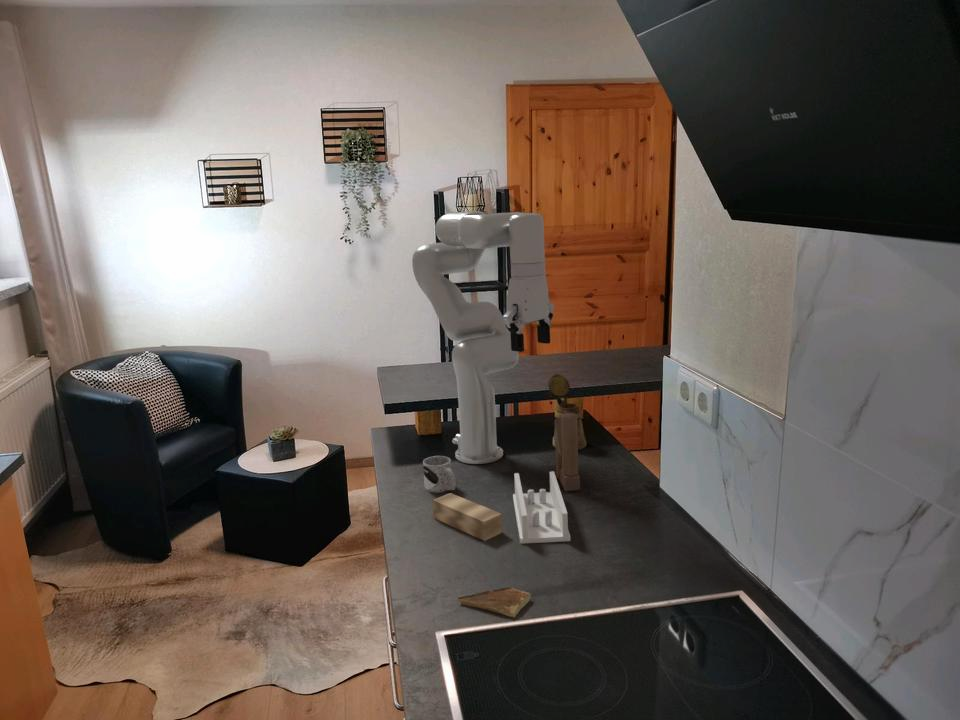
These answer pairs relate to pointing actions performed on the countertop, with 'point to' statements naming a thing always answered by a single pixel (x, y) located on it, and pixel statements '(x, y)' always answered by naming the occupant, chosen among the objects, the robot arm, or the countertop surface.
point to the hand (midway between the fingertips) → (531, 346)
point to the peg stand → (541, 513)
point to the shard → (498, 600)
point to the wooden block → (567, 451)
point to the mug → (438, 474)
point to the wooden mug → (566, 405)
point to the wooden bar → (467, 516)
